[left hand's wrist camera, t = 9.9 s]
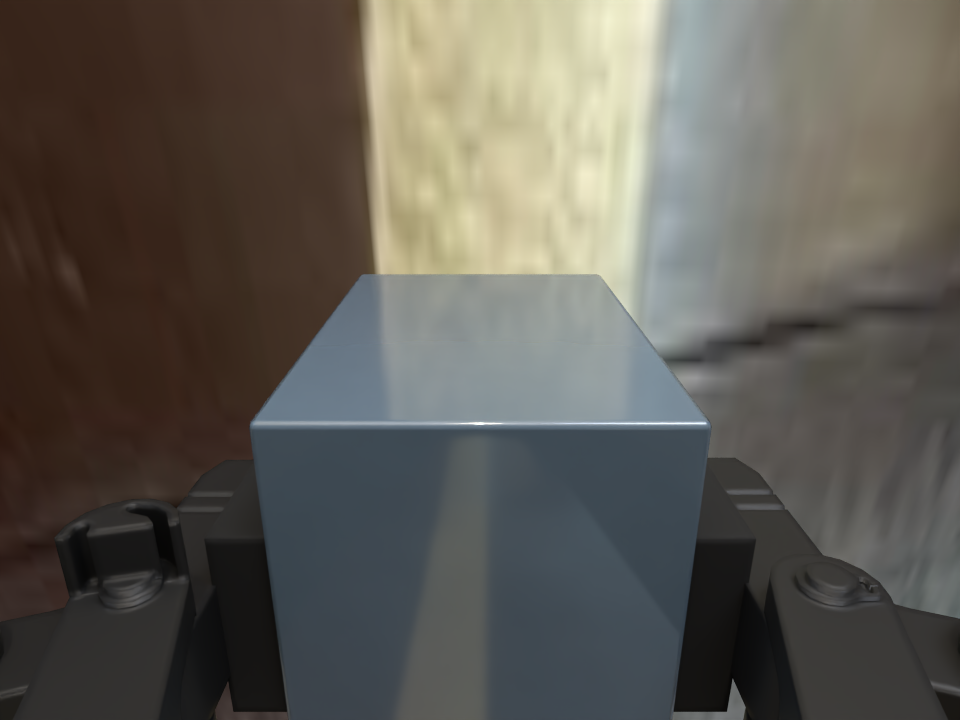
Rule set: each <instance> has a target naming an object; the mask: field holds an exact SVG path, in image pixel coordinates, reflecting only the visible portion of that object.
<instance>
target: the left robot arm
mask: <svg viewBox="0 0 960 720" xmlns="http://www.w3.org/2000/svg"><path fill="white" fill-rule="evenodd" d="M54 539H55V543H56V547H57V551H58V555H59V558H60V562H61V566H62V570H63V574H64V577H65V581H66V585H67V589H68V593H69V596H70V598H69V600H68V602H67V604H66V607H65V608H61V609H58V610H54V611H50V612H45V613H40V614H36V615H31V616H26V617H21V618H17V619H12V620H7V621H2V622H0V720H217V719H216V714H215V709H216V706H217V704H218V702H219V700H220V697H221V695H222V693H223V691H224V688H225V686H226V684H227V682H229V688H230V694H231V699H232V705H233V711H234V712H287V706H286V699H285V691H284V684H283V676H282V669H281V661H280V654H279V646H278V639H277V631H276V624H275V617H274V609H273V602H272V594H271V587H270V579H269V572H268V564H267V557H266V549H265V542H264V534H263V527H262V519H261V512H260V504H259V497H258V489H257V482H256V474H255V467H254V460H225V461H224V462H222V463H220V464H219V465H217V466H216V467H214V468H213V469H211V470H209V471H208V472H206V473H205V474H203V475H202V476H201V477H200V478H199V480H198V481H197V482H196V484H195V485H194V486H193V488H192V489H191V490H190V491H189V493H188V497H185V498H184V499H183V500H182V502H181V503H180V504H179V506H178V507H177V508H175V507H173V506H172V505H171V504H170V503H168V502H164V501H159V500H155V499H132V500H126V501H122V502H117V503H112V504H108V505H105V506H102V507H100V508H97V509H95V510H92V511H90V512H87V513H85V514H83V515H81V516H80V517H78V518H77V519H75V520H73V521H72V522H70V523H69V524H67V525H66V526H65V527H64V528H63V529H62V530H61V531H60V532H59V533H58V535H57V536H56V537H55V538H54ZM732 679H733V680H734V682H735V684H736V686H737V689H738V691H739V693H740V695H741V697H742V700H743V702H744V704H745V706H746V708H745V714H744V719H743V720H960V619H958V618H953V617H948V616H944V615H939V614H934V613H929V612H924V611H920V610H915V609H910V608H906V607H903V606H899V605H895V604H894V603H893V601H892V599H891V597H890V595H889V594H888V593H887V591H886V590H885V589H884V588H883V586H882V585H881V584H880V582H878V581H877V580H876V579H874V578H873V577H872V576H870V575H869V574H867V573H866V572H865V571H863V570H862V569H860V568H858V567H855V566H853V565H851V564H849V563H846V562H844V561H842V560H840V559H835V558H831V557H827V556H823V555H822V554H821V552H820V551H819V550H818V548H817V547H816V546H815V545H814V543H813V542H812V541H811V539H810V538H809V537H808V536H807V534H806V533H805V532H804V530H803V529H802V528H801V527H800V525H799V524H798V523H797V521H796V520H795V519H794V518H793V516H792V515H791V514H790V512H789V511H788V510H785V508H784V505H783V503H782V502H781V501H780V500H779V498H778V497H777V496H776V495H773V491H772V489H771V488H770V487H769V485H768V484H767V483H766V482H765V480H764V479H763V478H762V476H761V475H760V474H759V473H758V472H756V471H755V470H753V469H752V468H750V467H748V466H747V465H745V464H744V463H742V462H741V461H739V460H737V459H736V458H707V465H706V472H705V480H704V487H703V495H702V502H701V510H700V517H699V525H698V532H697V540H696V547H695V554H694V562H693V569H692V577H691V584H690V592H689V599H688V607H687V614H686V622H685V629H684V637H683V644H682V652H681V659H680V667H679V674H678V682H677V689H676V696H675V704H674V711H673V712H727V708H728V702H729V696H730V690H731V685H732Z"/></svg>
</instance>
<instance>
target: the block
mask: <svg viewBox="0 0 960 720" xmlns="http://www.w3.org/2000/svg"><path fill="white" fill-rule="evenodd" d="M249 429H250V437H251V444H252V452H253V459H254V467H255V474H256V482H257V489H258V497H259V504H260V512H261V519H262V527H263V534H264V542H265V549H266V557H267V564H268V572H269V579H270V587H271V594H272V602H273V609H274V617H275V624H276V631H277V639H278V646H279V654H280V661H281V669H282V676H283V684H284V691H285V699H286V706H287V714H288V720H672V719H673V711H674V704H675V696H676V689H677V682H678V674H679V667H680V659H681V652H682V644H683V637H684V629H685V622H686V614H687V607H688V599H689V592H690V584H691V577H692V569H693V562H694V554H695V547H696V540H697V532H698V525H699V517H700V510H701V502H702V495H703V487H704V480H705V472H706V465H707V457H708V450H709V442H710V435H711V424H710V421H709V420H708V419H707V417H706V416H705V415H704V413H703V412H702V411H701V409H700V408H699V407H698V405H697V404H696V403H695V401H694V400H693V399H692V397H691V396H690V395H689V393H688V392H687V391H686V389H685V388H684V387H683V385H682V384H681V383H680V381H679V380H678V379H677V377H676V376H675V375H674V373H673V372H672V371H671V369H670V368H669V367H668V365H667V364H666V363H665V361H664V360H663V359H662V357H661V356H660V355H659V353H658V352H657V351H656V349H655V348H654V347H653V345H652V344H651V343H650V341H649V340H648V339H647V337H646V336H645V335H644V333H643V332H642V331H641V329H640V328H639V327H638V325H637V324H636V323H635V321H634V320H633V319H632V317H631V316H630V315H629V313H628V312H627V311H626V309H625V308H624V307H623V305H622V304H621V303H620V301H619V300H618V299H617V297H616V296H615V295H614V293H613V292H612V291H611V289H610V288H609V287H608V286H607V284H606V283H605V282H604V280H603V279H602V278H601V276H600V275H597V274H438V275H436V274H434V275H361V276H360V277H359V278H358V279H357V281H356V282H355V283H354V285H353V286H352V287H351V289H350V290H349V291H348V293H347V294H346V295H345V297H344V298H343V299H342V301H341V302H340V303H339V305H338V306H337V307H336V309H335V310H334V311H333V313H332V314H331V315H330V317H329V318H328V319H327V321H326V322H325V323H324V325H323V326H322V327H321V329H320V330H319V331H318V333H317V334H316V335H315V337H314V338H313V339H312V341H311V342H310V343H309V345H308V346H307V347H306V349H305V350H304V351H303V353H302V354H301V355H300V357H299V358H298V359H297V361H296V362H295V363H294V365H293V366H292V367H291V369H290V370H289V371H288V373H287V374H286V376H285V377H284V378H283V380H282V381H281V382H280V384H279V385H278V386H277V388H276V389H275V390H274V392H273V393H272V394H271V396H270V397H269V398H268V400H267V401H266V402H265V404H264V405H263V406H262V408H261V409H260V410H259V412H258V413H257V414H256V416H255V417H254V418H253V420H252V421H251V423H250V426H249Z"/></svg>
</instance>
